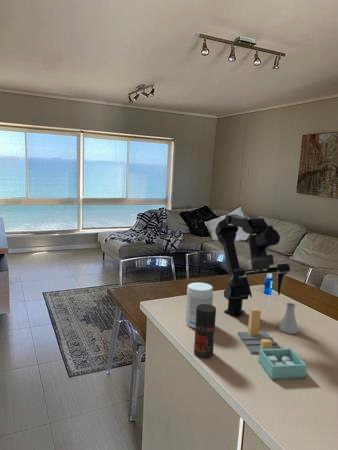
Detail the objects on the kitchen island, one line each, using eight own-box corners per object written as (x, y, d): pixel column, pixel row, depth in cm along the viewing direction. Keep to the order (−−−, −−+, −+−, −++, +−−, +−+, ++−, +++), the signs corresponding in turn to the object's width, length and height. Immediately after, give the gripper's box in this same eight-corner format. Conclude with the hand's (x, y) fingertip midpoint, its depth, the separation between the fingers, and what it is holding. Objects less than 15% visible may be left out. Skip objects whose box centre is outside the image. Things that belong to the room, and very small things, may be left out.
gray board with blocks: (237, 334, 117) (239, 308, 115) (265, 334, 118) (268, 307, 117) (251, 354, 104) (253, 324, 102) (282, 353, 105) (285, 324, 104)
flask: (299, 328, 124) (302, 302, 122) (298, 336, 117) (301, 309, 116) (279, 324, 127) (281, 299, 125) (276, 331, 120) (279, 305, 119)
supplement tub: (216, 326, 122) (219, 288, 120) (196, 332, 117) (198, 292, 115) (199, 316, 130) (202, 280, 128) (180, 321, 125) (182, 284, 123)
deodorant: (192, 348, 105) (195, 304, 103) (210, 348, 106) (213, 304, 104) (195, 358, 100) (198, 311, 97) (214, 358, 100) (218, 311, 98)
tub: (258, 361, 100) (259, 349, 99) (289, 360, 101) (290, 348, 100) (271, 380, 91) (272, 366, 90) (305, 378, 92) (306, 365, 92)
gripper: (229, 251, 112) (235, 297, 108) (287, 244, 108) (295, 292, 103) (232, 256, 122) (238, 299, 118) (285, 249, 118) (292, 294, 114)
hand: (265, 296), depth 113 cm, fingers open, 9 cm apart
